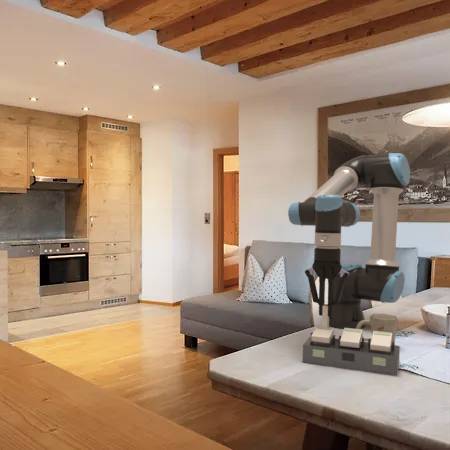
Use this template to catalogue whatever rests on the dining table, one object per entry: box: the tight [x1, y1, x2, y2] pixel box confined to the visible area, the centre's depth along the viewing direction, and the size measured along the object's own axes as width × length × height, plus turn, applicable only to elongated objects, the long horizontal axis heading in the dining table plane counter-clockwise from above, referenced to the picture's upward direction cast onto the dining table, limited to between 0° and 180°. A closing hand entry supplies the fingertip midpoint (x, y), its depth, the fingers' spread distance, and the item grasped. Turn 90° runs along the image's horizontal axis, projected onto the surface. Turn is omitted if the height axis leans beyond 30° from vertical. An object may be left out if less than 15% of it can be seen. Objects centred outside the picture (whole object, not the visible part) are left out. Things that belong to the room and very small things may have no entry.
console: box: [302, 331, 401, 377], centre depth 130 cm, size 11×25×7 cm, turn 67°
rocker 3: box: [370, 331, 392, 352], centre depth 127 cm, size 8×5×2 cm, turn 157°
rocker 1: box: [310, 325, 335, 343], centre depth 133 cm, size 8×5×2 cm, turn 157°
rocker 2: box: [340, 328, 363, 348], centre depth 130 cm, size 8×5×2 cm, turn 157°
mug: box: [356, 312, 399, 345], centre depth 147 cm, size 8×13×10 cm, turn 78°
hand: (325, 326), depth 137 cm, fingers closed
